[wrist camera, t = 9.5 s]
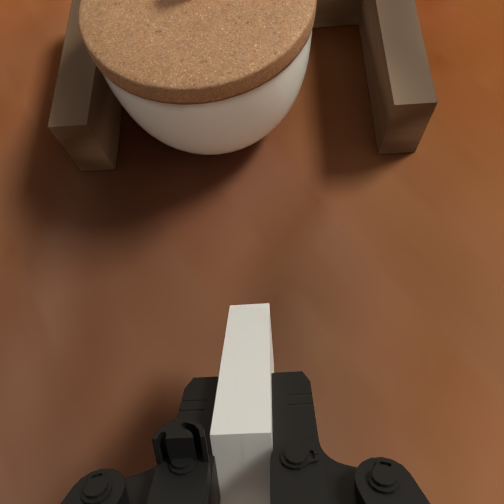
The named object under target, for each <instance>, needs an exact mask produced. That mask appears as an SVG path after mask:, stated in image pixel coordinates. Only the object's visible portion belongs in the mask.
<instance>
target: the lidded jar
mask: <svg viewBox="0 0 504 504" xmlns="http://www.w3.org/2000/svg"><path fill="white" fill-rule="evenodd" d="M316 5H317V0H81V2H80V7H79V11H78V25H79V29H80V34H81V38H82V40H83V42H84V44H85V46H86V48H87V50H88V52H89V54H90V56H91V58H92V60H93V62H94V63H95V65H96V66H97V67H98V68H99V70H100V71H101V72H102V74H103V76H104V78H105V80H106V81H107V83H108V85H109V87H110V88H111V90H112V92H113V94H114V95H115V96H116V98H117V99H118V100H119V102H120V103H121V105H122V106H123V107H124V109H125V110H126V111H127V112H128V114H129V115H130V116H131V117H132V118H133V119H134V120H135V121H136V123H137V124H138V125H139V126H141V127H142V128H143V129H144V130H145V131H146V132H147V133H149V134H150V135H152V136H153V137H155V138H156V139H158V140H159V141H161V142H163V143H164V144H166V145H168V146H171V147H173V148H176V149H178V150H182V151H186V152H190V153H194V154H203V155H215V154H224V153H230V152H234V151H237V150H240V149H243V148H245V147H248V146H250V145H252V144H254V143H256V142H257V141H259V140H260V139H262V138H263V137H265V136H266V135H267V134H268V133H270V132H271V131H272V130H273V129H274V128H275V127H277V126H278V124H279V123H280V122H281V121H282V120H283V119H284V117H285V116H286V115H287V113H288V112H289V110H290V108H291V107H292V105H293V103H294V102H295V100H296V98H297V96H298V93H299V90H300V87H301V85H302V82H303V79H304V76H305V73H306V69H307V64H308V60H309V53H310V46H311V37H312V28H313V26H314V20H315V13H316Z"/></svg>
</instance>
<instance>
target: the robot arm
mask: <svg viewBox="0 0 504 504" xmlns="http://www.w3.org/2000/svg"><path fill="white" fill-rule="evenodd" d="M152 442H153V446H154V451H155V456H156V461H157V466H155V467H154V468H152V469H150V470H149V471H146V472H144V473H141V474H138V475H135V476H132V477H129V478H125V479H124V477H123V476H122V475H121V473H120V472H118V471H116V470H113V469H100V470H97V471H94V472H91V473H89V474H88V475H86V476H85V477H83V478H81V479H80V480H79V481H78V482H77V483H76V485H75V486H74V487H73V488H72V489H71V491H70V492H69V493H68V495H67V496H66V497H65V499H64V500H63V502H62V503H61V504H430V503H429V501H428V500H427V498H426V497H425V495H424V494H423V492H422V491H421V489H420V488H419V486H418V485H417V483H416V482H415V480H414V479H413V477H412V476H411V474H410V473H409V472H408V471H407V470H406V469H405V468H404V466H403V465H401V464H399V463H397V462H396V461H394V460H391V459H387V458H383V457H377V458H370V459H367V460H365V461H363V462H362V463H361V464H360V465H359V466H358V467H357V468H356V467H352V466H348V465H344V464H341V463H338V462H336V461H334V460H333V459H331V458H330V457H328V456H327V455H326V454H325V453H324V451H323V450H322V448H321V447H320V443H319V439H318V432H317V425H316V418H315V412H314V406H313V398H312V391H311V384H310V381H309V379H308V378H307V377H306V376H305V374H304V373H303V372H302V371H301V372H281V373H274V362H273V348H272V335H271V322H270V308H269V303H265V304H248V305H230V309H229V315H228V322H227V328H226V334H225V341H224V347H223V354H222V360H221V366H220V373H219V377H200V378H193V379H192V381H191V382H190V383H189V384H188V385H187V386H186V388H185V390H184V393H183V397H182V403H181V405H180V409H179V413H178V417H177V420H174V421H171V422H169V423H167V424H165V425H163V426H162V427H161V428H160V429H159V430H157V431H156V433H155V435H154V437H153V438H152Z"/></svg>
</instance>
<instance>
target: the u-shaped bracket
mask: <svg viewBox="0 0 504 504" xmlns="http://www.w3.org/2000/svg"><path fill="white" fill-rule="evenodd" d="M80 2H81V0H72V4H71V9H70V14H69V19H68V24H67V30H66V35H65V40H64V45H63V50H62V55H61V60H60V65H59V71H58V76H57V81H56V86H55V91H54V96H53V101H52V106H51V112H50V117H49V122H48V129H49V130H50V131H51V132H52V134H53V135H54V136H55V138H56V139H57V140H58V141H59V143H60V144H61V145H62V147H63V148H64V149H65V150H66V152H67V153H68V154H69V156H70V157H71V158H72V159H73V161H74V162H75V163H76V165H77V166H78V167H79V168H80V170H81V171H97V170H115V169H116V160H117V152H118V143H119V135H120V126H121V118H122V109H123V106H122V105H121V103H120V102H119V100H118V99H117V98H116V96H115V95H114V94H113V92H112V90H111V88H110V87H109V85H108V83H107V81H106V80H105V78H104V76H103V74H102V72H101V71H100V70H99V68H98V67H97V66H96V65H95V63H94V62H93V60H92V58H91V56H90V54H89V52H88V50H87V48H86V46H85V44H84V42H83V40H82V38H81V34H80V29H79V25H78V11H79V7H80ZM344 25H359V32H360V38H361V45H362V51H363V58H364V64H365V71H366V77H367V84H368V90H369V97H370V103H371V110H372V116H373V123H374V129H375V136H376V143H377V149H378V154H393V153H410V152H415V151H416V148H417V146H418V144H419V142H420V140H421V137H422V135H423V133H424V131H425V129H426V126H427V124H428V122H429V120H430V118H431V115H432V113H433V111H434V109H435V107H436V104H437V98H436V94H435V89H434V85H433V81H432V76H431V72H430V67H429V63H428V58H427V54H426V50H425V45H424V41H423V36H422V32H421V28H420V23H419V19H418V14H417V10H416V6H415V1H414V0H317V5H316V13H315V20H314V26H313V28H318V27H331V26H344Z"/></svg>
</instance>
